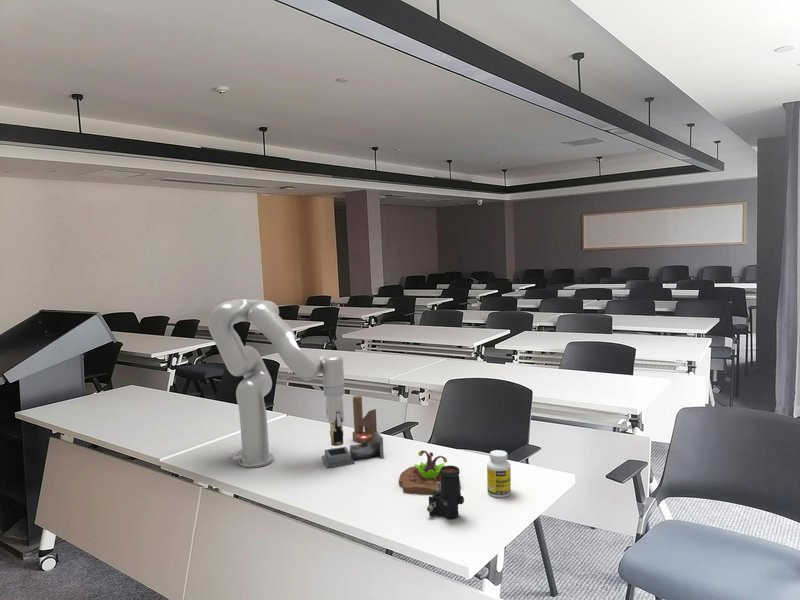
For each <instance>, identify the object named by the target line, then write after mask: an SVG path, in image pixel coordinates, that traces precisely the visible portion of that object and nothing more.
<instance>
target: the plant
mask: <svg viewBox="0 0 800 600" xmlns="http://www.w3.org/2000/svg"><path fill="white" fill-rule="evenodd" d="M424 453H425V454H426V458H427V459H426V461H425V463H424V462H422V461H421V462H420V464H415V463H414V464H413V466H409V467H408V468H406V469H405V470H403V471H402V472H401V473H400V475H399V479H398V486H400V487H401V488H402V491H403V494H408V495H422V496H423V495H429V496H430V495H431V496H433V492H434V491H435V490H437V482H440V487H441V474H440V469H441V468H442V467H444V466H445V464H446V463H447V462H448V459H447V458H446V457H445V456H443V455H438V456H436V457H435V458H433V457H434V452H429V453H428V451H426V450H420V451H418V456H419V457H422V456H423V455H424ZM440 458H442V461H443V463H440V464H437V463H436V462H437V461H438V460H439V459H440ZM440 489H441V488H440Z"/></svg>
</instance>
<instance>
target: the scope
mask: <svg viewBox="0 0 800 600" xmlns="http://www.w3.org/2000/svg"><path fill="white" fill-rule="evenodd" d="M460 471H461V470H460V468H459V467H458V466H456V465H444V467H442V468H441V469H440V474H441V487H440V482H437V490H435V491H434V492H433V495H431V496H430V495H429V496H428V505H427V507H426V510H427V512H429V513H428V514H429V516H430V517H435V516H438V517H442V518H445V519H447V520H456V519H458V518H459V505H463V504H464V503H465V497H464V496H463V495H462V494H461V493H462V492H461V481H460ZM440 488H441V489H440Z"/></svg>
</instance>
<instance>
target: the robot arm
mask: <svg viewBox="0 0 800 600" xmlns="http://www.w3.org/2000/svg"><path fill="white" fill-rule="evenodd" d="M279 315H280V308H279V307H278V304H276V303H275V302H273V301H270V300H265V299H264V300H261V299H244V298H236V299H233V300H227V301H224V302H222V303H220V304H218V305H217V306H216V307H214V308H213V309H212V311H211V313H210V314H209V318H208V321H207V325H208V326H207V327H208V331H209V333H210V335H211V337H212V340H213V342H214V343H215V346H216V347H217V350H218V352H219V354H220V356H221V358H222V360H223V363H224V364H225V366H226V369H227V370H228V372H229V373H230V374H231V375H232V376H234V377H243V379H242V380H241V381H240V382H239V383H238V385H237V387H236V391H235V396H236V403H237V406H238V413H239V425H240V427H239V428H240V439H241V441H240V442H241V448H240V451H238V452H234V453H233V452H232V453H229V460H233V461H238V465H239V466H240V467H243V468H248V469H249V468H260V467H263V466H267V465H270V464H271V463H273V461H274V460H275V458H274V457H275V456H274V454H273V453H271V452H270V447H269V446H270V443H269V430H268V417H267V416H268V415H267V408H266V404H265V399H264V397H265V396H267V395H268V394H269V393H270V392H271V390H272V386H273V381H272V377H271V375H270V372H269V370H268V369H267V367H266V364H265V362H264V360H263V357H262V356H261V354H260V352H259V351H258V350H257V349H256V348H254V347H253V346H250V345H244V343H243V342H242V339H241V337H240V336H239V333H238V332H237V331H236V329H234V325H235V324H238V323H240V322H244V323H245V322H247V323H251V324H253V325H254V327H255V328H256V329H258V330H259V332H260V333H262V335H264V337H266V338H267V340H268V341H269V342H271V344H272V345H273V346H274V347H275V349H276V351H277V353H278V355H279V356H280V358H281V360H282V361H283V362H284V364H285V365H286V366H287V367H288V369H290V370H291V371H292V373H294V374H295V375H296V376H297V377H298V378H299V379H300V380H304V381H307V382H308V381H312V380H314V379H315V378H317V376H318V375H322V387H323V396H325V418H326V420H327V421H328V423H329V425H330V424H332V423H333V424H334V431H333V435H334V442H342V441H343V442H344V435H343V434H344V430H343V431H342V426H343V423H344V421H345V415H344V401H343V399H344V398H343V395H345V393H346V390H345V374H344V369H345V368H344V359H343V357H342V355H339V354H329V355H323V354H316V353H313V354H309V355H306V353H304V352H303V350H302V349H301V348H300V347H299V345H298V344H297V341H296V338H295V337H296V336H295V331H294V329H292V327H291V326H289V324H288V323H286V321H284V319H283V318H282V317H281V316H279ZM335 421H337V422H336V423H335ZM336 424H337V425H336Z"/></svg>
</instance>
